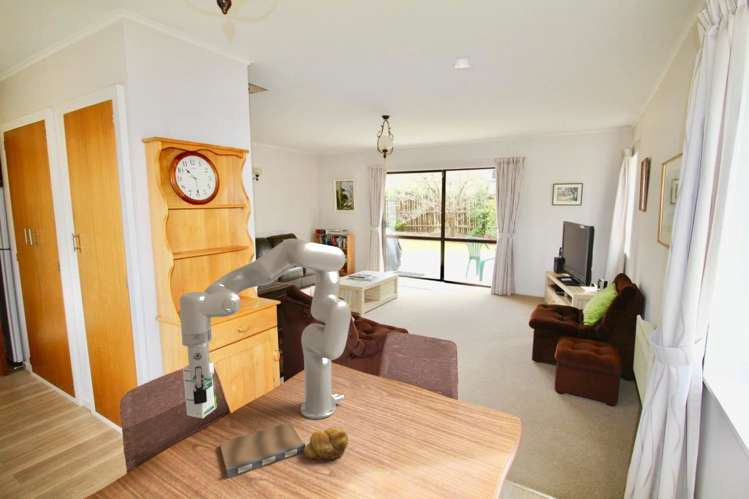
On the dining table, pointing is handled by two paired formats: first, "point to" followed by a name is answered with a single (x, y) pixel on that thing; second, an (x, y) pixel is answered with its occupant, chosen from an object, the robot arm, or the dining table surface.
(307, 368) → the robot arm
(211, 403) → the syrup box
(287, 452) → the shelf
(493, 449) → the dining table surface
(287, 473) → the dining table surface
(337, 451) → the bread roll
